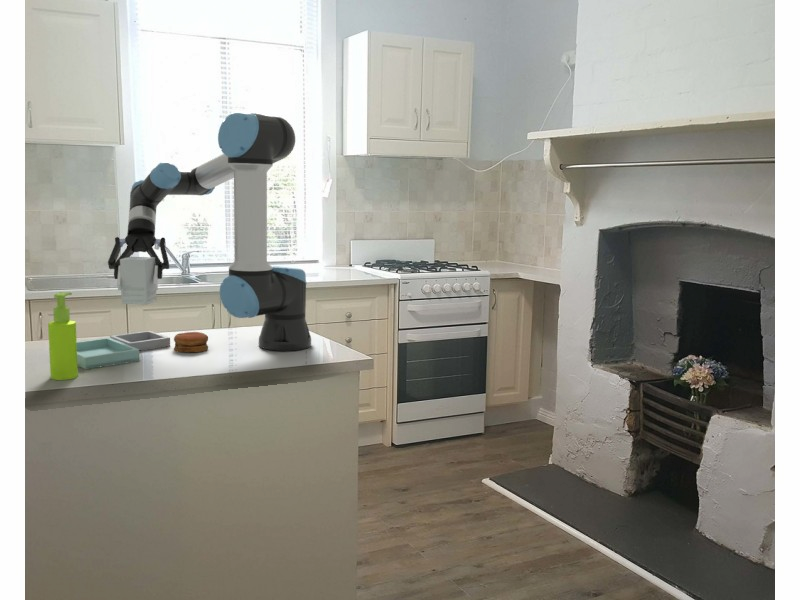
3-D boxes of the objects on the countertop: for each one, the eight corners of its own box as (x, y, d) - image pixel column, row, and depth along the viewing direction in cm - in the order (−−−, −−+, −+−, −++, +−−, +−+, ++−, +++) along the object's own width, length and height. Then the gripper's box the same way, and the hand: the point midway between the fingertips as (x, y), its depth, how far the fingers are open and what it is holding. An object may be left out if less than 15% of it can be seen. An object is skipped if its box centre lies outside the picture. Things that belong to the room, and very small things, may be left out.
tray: (139, 360, 188) (139, 349, 187) (85, 369, 178) (85, 357, 177) (109, 348, 200) (109, 337, 200) (57, 355, 190) (56, 344, 190)
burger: (209, 352, 199) (209, 336, 198) (174, 354, 196) (174, 337, 195) (207, 345, 208) (207, 329, 208) (173, 346, 205) (173, 330, 205)
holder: (170, 346, 205) (170, 337, 204) (129, 352, 196) (129, 343, 196) (150, 338, 213) (149, 330, 212) (110, 344, 204) (109, 335, 204)
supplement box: (157, 301, 206) (156, 257, 204) (146, 305, 199) (145, 259, 197) (132, 300, 206) (131, 256, 204) (120, 304, 199) (119, 258, 197)
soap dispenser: (83, 372, 175) (80, 291, 172) (71, 380, 168) (68, 295, 165) (59, 372, 175) (55, 290, 172) (46, 379, 168) (42, 295, 165)
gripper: (180, 234, 217) (179, 294, 204) (104, 233, 212) (97, 295, 199) (179, 217, 211) (177, 278, 198) (100, 216, 206) (93, 279, 193)
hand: (137, 287), depth 199 cm, fingers closed on supplement box, 9 cm apart
